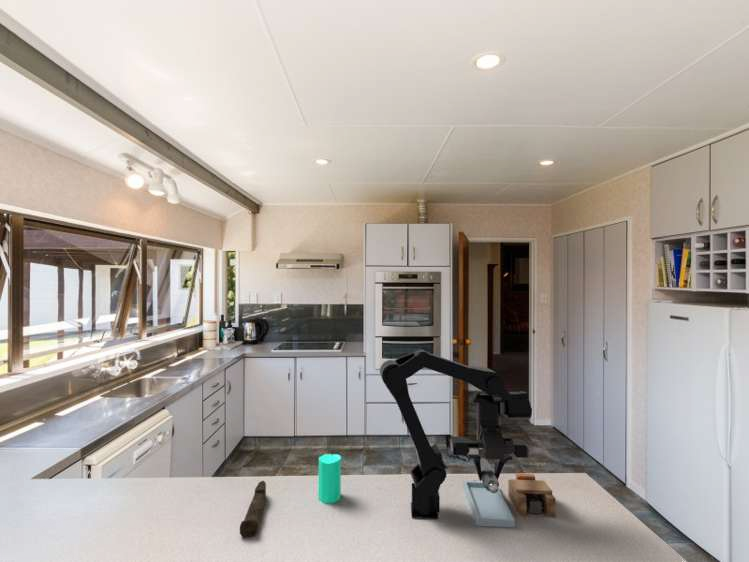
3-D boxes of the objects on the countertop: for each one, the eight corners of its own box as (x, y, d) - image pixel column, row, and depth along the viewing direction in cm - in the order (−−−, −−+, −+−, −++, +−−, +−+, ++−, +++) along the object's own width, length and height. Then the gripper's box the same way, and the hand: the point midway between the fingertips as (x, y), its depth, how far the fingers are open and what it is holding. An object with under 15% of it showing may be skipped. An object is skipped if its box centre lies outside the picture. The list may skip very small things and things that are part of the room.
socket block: (518, 515, 98) (518, 493, 98) (508, 496, 107) (508, 476, 107) (555, 516, 97) (555, 495, 97) (542, 497, 106) (542, 477, 106)
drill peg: (486, 496, 94) (486, 481, 94) (475, 471, 107) (475, 457, 107) (501, 497, 94) (501, 481, 94) (488, 471, 107) (488, 458, 107)
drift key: (525, 512, 98) (525, 489, 98) (515, 494, 107) (515, 473, 107) (545, 513, 98) (545, 490, 98) (533, 495, 107) (533, 474, 107)
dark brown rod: (257, 538, 88) (257, 517, 88) (238, 538, 87) (239, 517, 87) (273, 495, 106) (274, 477, 107) (258, 495, 106) (259, 478, 106)
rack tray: (476, 525, 93) (476, 518, 93) (463, 486, 111) (463, 480, 112) (514, 527, 92) (514, 520, 92) (495, 488, 111) (495, 482, 111)
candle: (345, 495, 106) (345, 450, 106) (331, 505, 101) (331, 458, 101) (327, 489, 109) (328, 446, 110) (313, 499, 104) (314, 453, 104)
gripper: (456, 428, 93) (456, 495, 92) (536, 431, 92) (536, 498, 91) (450, 414, 104) (449, 473, 104) (521, 416, 103) (521, 476, 102)
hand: (488, 480), depth 100 cm, fingers closed on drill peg, 4 cm apart
